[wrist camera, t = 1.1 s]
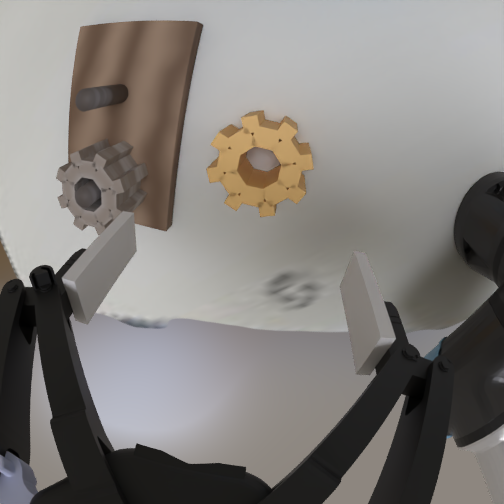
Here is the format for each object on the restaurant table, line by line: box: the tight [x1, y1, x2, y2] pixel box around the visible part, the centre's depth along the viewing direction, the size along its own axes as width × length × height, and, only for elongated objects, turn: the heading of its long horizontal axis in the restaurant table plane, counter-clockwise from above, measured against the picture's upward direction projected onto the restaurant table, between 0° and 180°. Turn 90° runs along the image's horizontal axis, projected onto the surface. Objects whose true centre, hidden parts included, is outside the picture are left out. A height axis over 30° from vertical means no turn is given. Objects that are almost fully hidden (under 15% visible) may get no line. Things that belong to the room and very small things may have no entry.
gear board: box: [56, 21, 203, 235], centre depth 28 cm, size 16×26×9 cm, turn 168°
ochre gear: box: [207, 110, 313, 217], centre depth 30 cm, size 10×10×6 cm
